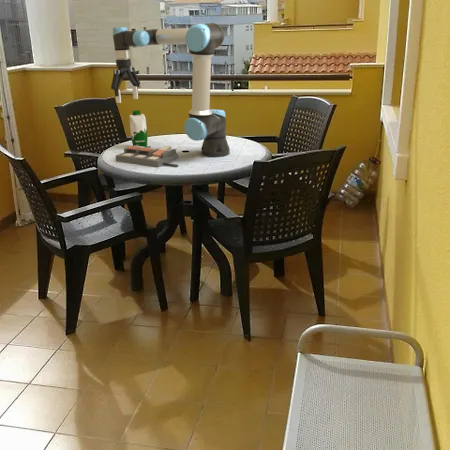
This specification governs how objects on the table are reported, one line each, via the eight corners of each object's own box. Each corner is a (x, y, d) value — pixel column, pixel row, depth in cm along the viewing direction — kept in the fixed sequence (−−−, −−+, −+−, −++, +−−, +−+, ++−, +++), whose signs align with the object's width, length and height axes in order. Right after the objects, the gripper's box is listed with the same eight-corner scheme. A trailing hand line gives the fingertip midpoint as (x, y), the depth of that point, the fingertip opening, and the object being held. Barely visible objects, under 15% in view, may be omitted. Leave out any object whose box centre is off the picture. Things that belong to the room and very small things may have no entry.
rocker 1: (146, 149, 279) (146, 147, 279) (134, 149, 271) (134, 147, 270) (140, 148, 281) (140, 146, 281) (127, 148, 273) (127, 146, 272)
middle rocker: (159, 150, 275) (159, 148, 275) (146, 151, 267) (147, 148, 266) (152, 150, 277) (152, 147, 277) (140, 150, 269) (140, 147, 269)
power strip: (192, 160, 268) (191, 150, 266) (172, 169, 254) (172, 158, 252) (137, 153, 285) (136, 144, 283) (116, 161, 271) (115, 151, 270)
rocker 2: (171, 148, 271) (170, 146, 270) (160, 156, 264) (159, 154, 263) (164, 147, 273) (164, 145, 272) (153, 155, 266) (152, 153, 265)
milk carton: (146, 145, 303) (143, 109, 295) (149, 148, 295) (146, 112, 287) (131, 146, 301) (127, 110, 293) (133, 150, 293) (129, 113, 285)
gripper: (133, 56, 285) (137, 97, 292) (100, 60, 265) (105, 104, 273) (144, 56, 281) (147, 97, 289) (111, 61, 261) (116, 104, 269)
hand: (127, 100), depth 281 cm, fingers open, 13 cm apart
